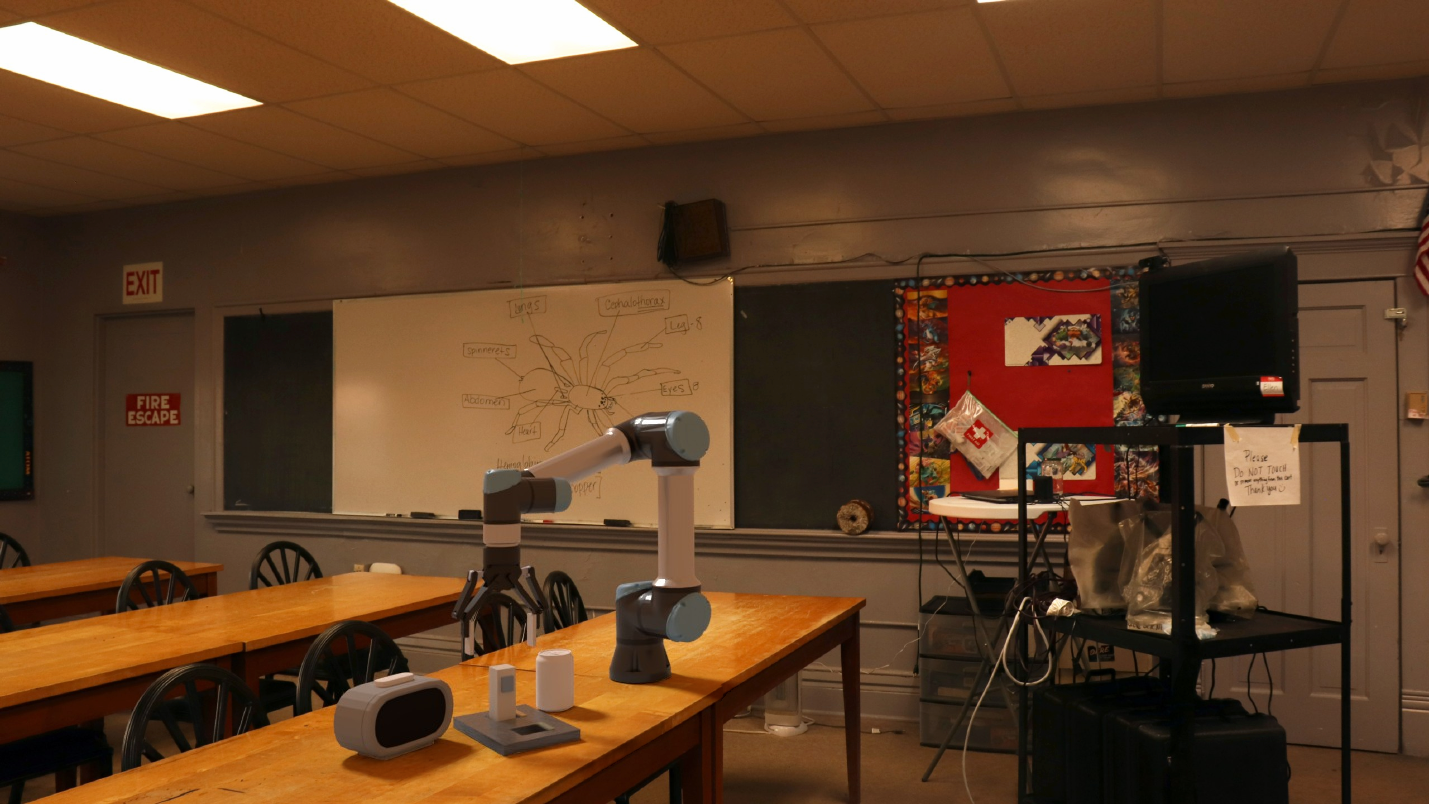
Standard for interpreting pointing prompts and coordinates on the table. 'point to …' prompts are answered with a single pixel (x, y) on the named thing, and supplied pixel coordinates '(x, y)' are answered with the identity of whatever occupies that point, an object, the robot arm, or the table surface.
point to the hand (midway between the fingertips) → (501, 649)
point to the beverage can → (554, 680)
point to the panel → (517, 730)
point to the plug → (502, 692)
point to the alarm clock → (393, 715)
